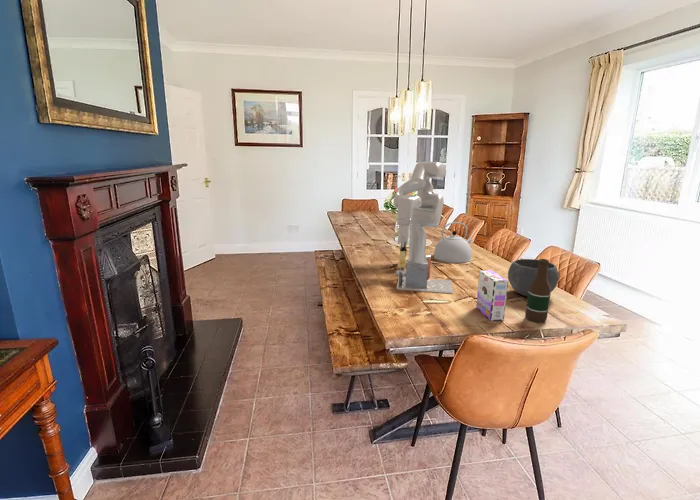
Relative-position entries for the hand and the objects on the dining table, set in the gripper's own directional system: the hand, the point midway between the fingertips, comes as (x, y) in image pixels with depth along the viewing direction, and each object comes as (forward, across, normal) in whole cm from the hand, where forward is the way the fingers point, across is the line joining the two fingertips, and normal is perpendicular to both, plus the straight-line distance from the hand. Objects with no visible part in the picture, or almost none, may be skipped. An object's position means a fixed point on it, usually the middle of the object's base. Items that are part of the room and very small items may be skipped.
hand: (403, 256), depth 194 cm
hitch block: (+11, +12, +12) cm, 20 cm away
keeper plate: (+3, +8, 0) cm, 8 cm away
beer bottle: (+11, +43, +54) cm, 70 cm away
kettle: (+11, -44, +29) cm, 54 cm away
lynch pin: (+8, +13, +6) cm, 16 cm away
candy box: (+11, +41, +37) cm, 57 cm away
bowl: (+11, +15, +59) cm, 62 cm away
